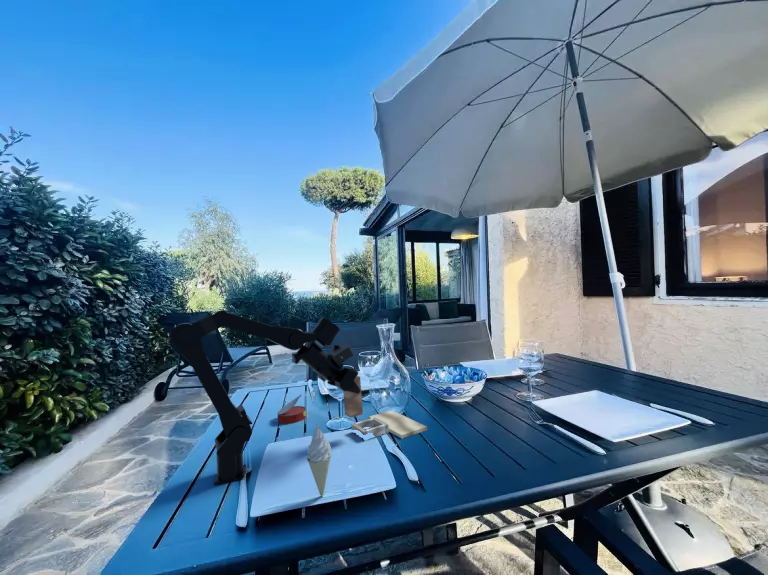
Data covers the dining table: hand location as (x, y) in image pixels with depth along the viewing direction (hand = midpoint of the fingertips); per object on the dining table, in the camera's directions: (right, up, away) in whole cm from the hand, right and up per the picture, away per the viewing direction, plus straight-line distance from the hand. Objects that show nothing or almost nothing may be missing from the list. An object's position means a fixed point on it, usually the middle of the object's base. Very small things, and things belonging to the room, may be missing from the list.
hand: (356, 390), depth 98 cm
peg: (-1, -7, -1) cm, 7 cm away
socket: (+8, -13, +4) cm, 16 cm away
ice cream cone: (-5, -13, -30) cm, 33 cm away
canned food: (-25, -16, +19) cm, 35 cm away
